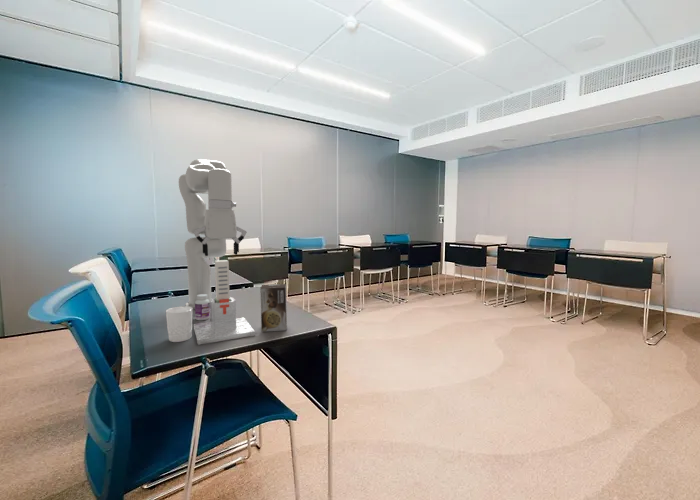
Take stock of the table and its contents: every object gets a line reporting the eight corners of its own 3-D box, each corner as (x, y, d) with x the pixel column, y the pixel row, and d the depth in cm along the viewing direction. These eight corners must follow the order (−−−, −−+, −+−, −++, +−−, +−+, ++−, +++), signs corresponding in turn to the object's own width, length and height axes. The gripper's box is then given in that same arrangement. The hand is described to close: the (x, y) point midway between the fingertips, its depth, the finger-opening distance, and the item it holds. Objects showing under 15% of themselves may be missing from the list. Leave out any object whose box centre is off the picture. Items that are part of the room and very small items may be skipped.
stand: (193, 328, 118) (192, 294, 117) (244, 321, 127) (243, 290, 125) (197, 344, 102) (196, 306, 101) (254, 335, 111) (254, 300, 110)
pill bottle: (204, 321, 126) (203, 297, 125) (192, 320, 127) (191, 296, 126) (212, 317, 131) (212, 294, 130) (201, 316, 132) (200, 293, 131)
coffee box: (287, 325, 122) (286, 283, 121) (286, 330, 116) (286, 287, 115) (262, 326, 121) (261, 284, 119) (260, 332, 115) (260, 287, 113)
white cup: (165, 344, 102) (164, 313, 101) (168, 336, 109) (167, 307, 108) (192, 341, 105) (191, 311, 104) (194, 333, 113) (193, 305, 112)
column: (215, 310, 114) (213, 260, 113) (228, 308, 117) (227, 259, 115) (217, 313, 111) (215, 262, 109) (230, 311, 113) (229, 261, 111)
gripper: (243, 206, 118) (244, 252, 120) (191, 205, 109) (193, 254, 111) (248, 206, 111) (248, 255, 113) (193, 204, 103) (194, 257, 105)
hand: (221, 254), depth 112 cm, fingers open, 9 cm apart
